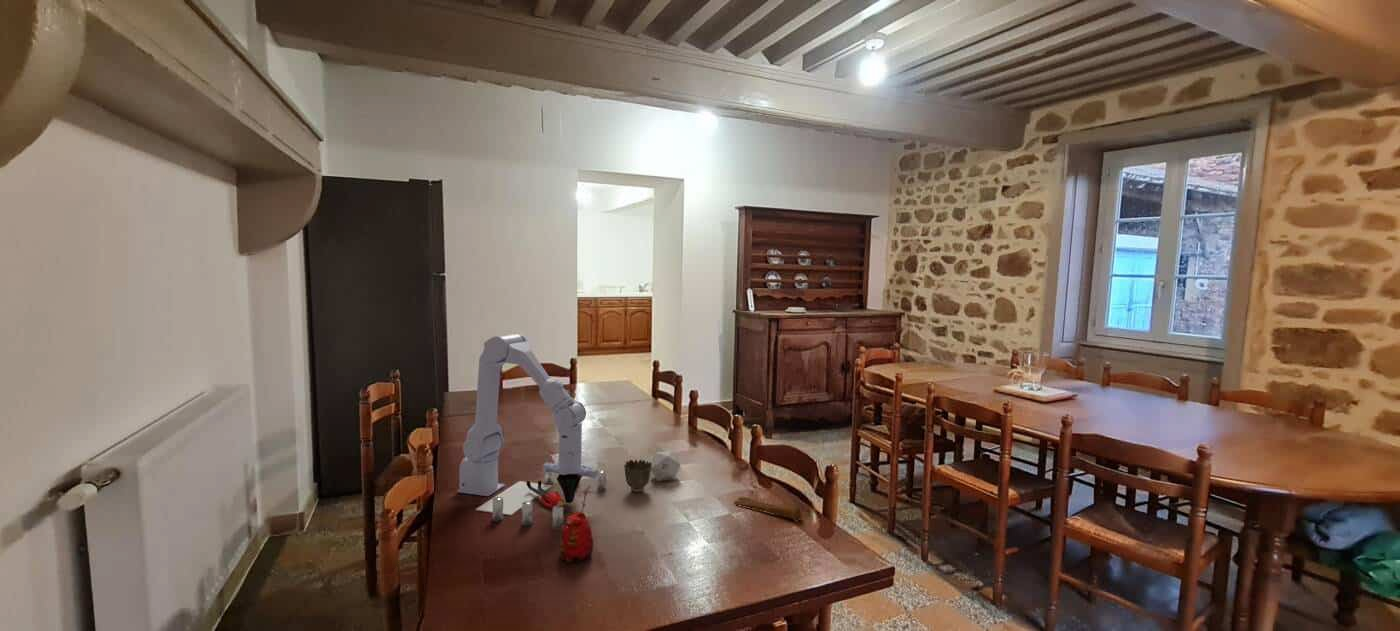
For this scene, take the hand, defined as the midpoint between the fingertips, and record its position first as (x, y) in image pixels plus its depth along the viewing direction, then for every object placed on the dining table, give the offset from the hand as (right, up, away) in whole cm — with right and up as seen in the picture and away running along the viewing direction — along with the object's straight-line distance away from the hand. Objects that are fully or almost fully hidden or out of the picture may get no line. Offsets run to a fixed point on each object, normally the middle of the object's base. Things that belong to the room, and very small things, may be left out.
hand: (569, 501), depth 148 cm
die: (+23, 0, +21) cm, 31 cm away
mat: (-15, 0, +4) cm, 16 cm away
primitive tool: (+50, -3, 0) cm, 50 cm away
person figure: (-6, -1, +1) cm, 6 cm away
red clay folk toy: (+7, -4, -25) cm, 27 cm away
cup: (+16, -1, +10) cm, 19 cm away
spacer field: (-5, -1, +1) cm, 6 cm away
